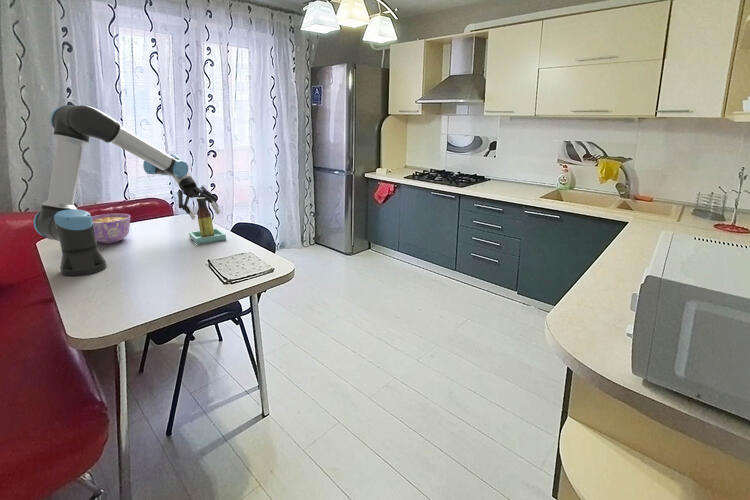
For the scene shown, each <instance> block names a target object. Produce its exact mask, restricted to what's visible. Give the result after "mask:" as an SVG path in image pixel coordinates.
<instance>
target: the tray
mask: <svg viewBox="0 0 750 500" xmlns="http://www.w3.org/2000/svg"><path fill="white" fill-rule="evenodd" d="M213 230H214V236H208V237H201V233H200V230H196V231H189V232H188V235H189V239H190V238H191V239H192V240H193V241H194V242H195V243H196V244H199V245H204V244H203V243H205V244H210V243H209V242H212V243H217V242H216V241H218V242H222V241H221V240H225V241H227V235H226V233H224V232H223V231H222V230H220V229H219V228H213ZM191 239H190V240H191ZM192 240H191V241H192ZM193 241H192V242H193ZM194 242H193V243H194ZM195 243H194V244H195ZM196 244H195V245H196Z"/></svg>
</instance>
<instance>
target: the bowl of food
mask: <svg viewBox="0 0 750 500" xmlns="http://www.w3.org/2000/svg"><path fill="white" fill-rule="evenodd" d="M91 217H92V220H93V226H94V231H95V236H96V241H97V243H101V244H106V245H107V244H115V243H118V242H121V240H123V239H124V238H126V237H127V236H128V235H129V233H130V223H131V215H130V214H128V213H106V214H105V213H103V214H98V215H93V216H92V215H91Z"/></svg>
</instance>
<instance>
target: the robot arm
mask: <svg viewBox="0 0 750 500" xmlns="http://www.w3.org/2000/svg"><path fill="white" fill-rule="evenodd" d="M49 120H50V125H51V126H52V128H53V129H54V130H53V134H52V136H53V137H54V138H55V139H56V141H57V142H56V147H55V153H54V159H53V160H54V161H53V165H52V166H53V167H52V172H51V179H50V183H49V190H48V196H47V200H46V201H44V202H42V203H41V207H40V211H39V212H37V213H36V214H35V216H34V218H33V220H32V221H33V223H32V224H33V227H34V229H35V231H36V233H38V234H39V236H42V237H44V238H45V239H48V240H51V241H52V240H55V241H58V242H59V244H60V249H61V252H62V253H61V254H62V255H61V261H60V266H59V269H60V273H61V275H62V276H66V277H79V276H87V275H92V274H95V273H98V272H100V271H103V270H105V269H106V268H107V261H106V259H105V257H104V256H103V254H102V253H101V250H99V248H98V241H96V236H95V231H94V226H93V220H92V217H91V216H92V215H91V213H90V212H89V211H87V210H84V209H78V208H77V206H75V199H76V193H77V186H78V181H79V176H80V170H81V163H82V156H83V152H84V147H85V146H87V145H88V144H89V143H90V137H91V138H96V139H97V140H101V141H103V142H105V143H107V144H109V143H111V144H114V145H116V146H117V147H120V148H121V149H123V150H124V151H126V152H129V153H130V154H132V155H134V156H136V157H137V158H139V159H141V160H142V161H143V165H142V166H143V167H142V168H143V170H144V172H145V173H146V174H147V175H161V176H169V177H172V178H173V179H174V181H175V182H176V184H177V185H178V187H179V188H180V189H178V190H177V192H176V194H177V197H178V209H181V210H183V211H184V212H185V213H186V214H188V215H189V217H190V218H191V220H192V221H194V220H195V218H196V215H195V213H194V212H193V211H194V210H192V208H191V207H190V205H188V204H189V201H190V199H193V198H201V197H205V198H206V202H208V203H209V204H210V206H211V207H212V209H213V210H214V211H215V212H214V213H215V214H216V215H217V216H218V215H219V214H220V213H221V209H220V207H219V204H218V203H217V201H218V200H219V199H218V197H216V195H214V194H213V193H212V192H210V191H209V190H207V189H206V188H205V186H203V185H202V186H201V187H199V186H198V185H197V183H196V181H195V180H194V178H193V177H192V175H191V174H190V172H189V165H188V163H187V162H186V161H184V160H182V159H181V158H180V157H179V156H178V155H177V154H175V153H171V154H167V153H166V152H164V151H163V150H161V149H159V148H158V147H156V146H154V145H153V144H151V143H149V142H147V141H146V140H144V139H143V138H140V137H139V136H138V135H136V134H135V133H133V132H131V131H129V130H128V129H126V128H124V127H123V126H122V125H121V122H119V121H118V120H116V119H114V118H113V117H111V116H109V115H108V114H106V113H105V112H102V111H101V110H99V109H97V108H95V107H92V106H89V105H72V104H68V105H67V104H66V105H62V106H59V107H57V108H55V109H54V110H53V111H52V112H51V115H50V118H49ZM184 195H185V196H186V197H185V200H184V199H183V198H184V197H183V196H184Z"/></svg>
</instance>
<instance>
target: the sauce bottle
mask: <svg viewBox="0 0 750 500" xmlns="http://www.w3.org/2000/svg"><path fill="white" fill-rule="evenodd" d="M196 202H197V207H198V208H197V211H196V214H197V221H198V227H199V231H200V233H201V237H208V236H214V230H213V229H214V225H213V220H212V214H211V212H210V210H209V208H208V206H207V201H206V198H205V197H201V198H199V197H196Z"/></svg>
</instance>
